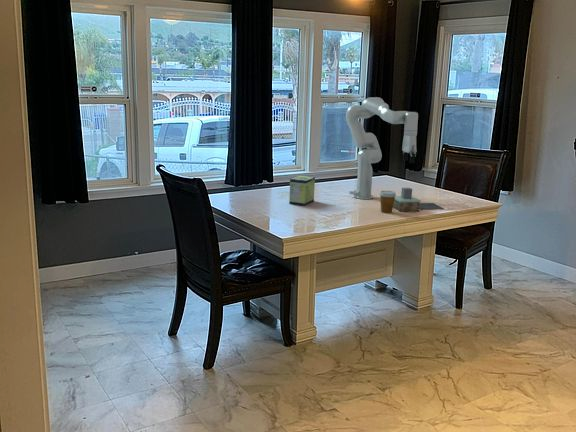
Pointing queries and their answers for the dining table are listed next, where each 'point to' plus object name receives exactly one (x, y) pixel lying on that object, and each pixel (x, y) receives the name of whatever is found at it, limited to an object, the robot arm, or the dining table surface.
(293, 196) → the protein box
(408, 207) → the storage box
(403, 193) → the lid
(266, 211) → the dining table surface
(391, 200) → the disposable coffee cup
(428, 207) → the rubber mat
